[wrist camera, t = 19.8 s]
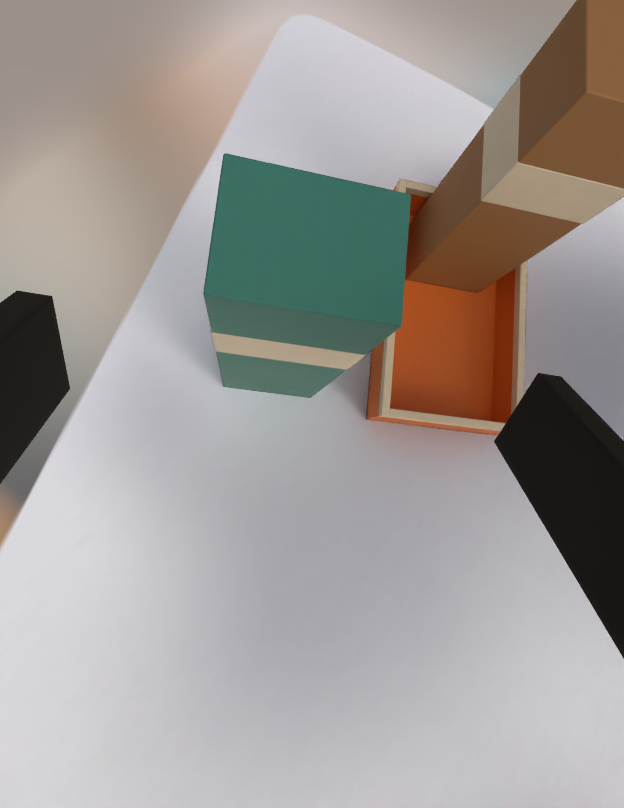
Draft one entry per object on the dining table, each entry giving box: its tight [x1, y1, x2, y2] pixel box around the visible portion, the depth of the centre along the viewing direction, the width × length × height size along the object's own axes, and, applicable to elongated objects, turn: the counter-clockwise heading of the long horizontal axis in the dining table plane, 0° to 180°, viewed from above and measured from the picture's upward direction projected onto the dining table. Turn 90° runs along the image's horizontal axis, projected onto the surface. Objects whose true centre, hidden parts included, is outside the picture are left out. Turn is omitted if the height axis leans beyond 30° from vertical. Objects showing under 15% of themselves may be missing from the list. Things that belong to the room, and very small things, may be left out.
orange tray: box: [366, 179, 527, 435], centre depth 29 cm, size 10×16×3 cm, turn 173°
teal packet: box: [204, 154, 411, 398], centre depth 20 cm, size 6×5×16 cm
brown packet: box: [405, 0, 624, 293], centre depth 23 cm, size 6×5×16 cm
